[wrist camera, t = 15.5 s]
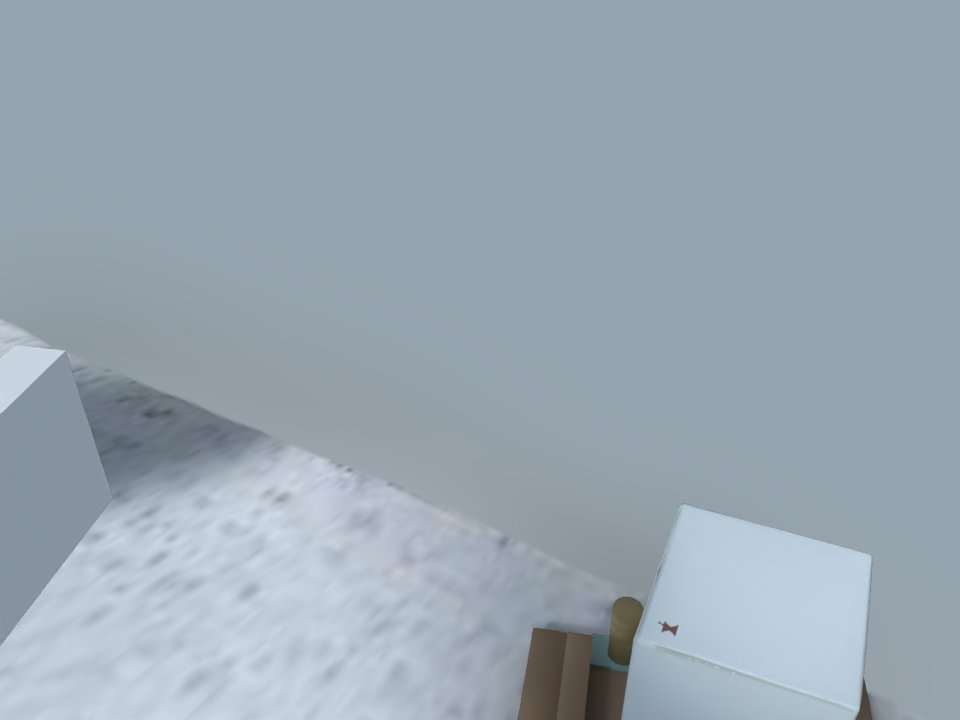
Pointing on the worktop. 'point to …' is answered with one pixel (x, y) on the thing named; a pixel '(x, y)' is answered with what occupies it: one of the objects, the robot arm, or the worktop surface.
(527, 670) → the brown shallow tray
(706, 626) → the supplement box
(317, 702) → the worktop surface
